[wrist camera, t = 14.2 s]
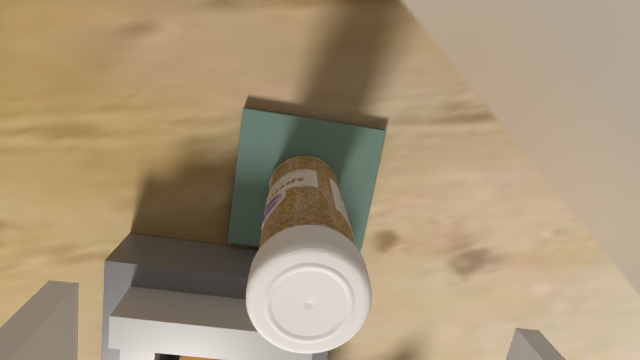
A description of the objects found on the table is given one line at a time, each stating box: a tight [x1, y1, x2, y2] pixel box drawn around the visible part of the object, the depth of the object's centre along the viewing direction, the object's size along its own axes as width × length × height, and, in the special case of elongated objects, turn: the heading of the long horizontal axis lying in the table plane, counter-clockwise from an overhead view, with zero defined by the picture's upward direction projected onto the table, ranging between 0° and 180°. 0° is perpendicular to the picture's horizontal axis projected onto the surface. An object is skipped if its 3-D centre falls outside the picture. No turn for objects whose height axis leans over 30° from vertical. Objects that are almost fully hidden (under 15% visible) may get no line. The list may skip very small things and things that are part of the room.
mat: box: [227, 107, 386, 252], centre depth 28 cm, size 9×9×1 cm
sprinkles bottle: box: [246, 156, 372, 354], centre depth 21 cm, size 5×5×13 cm
